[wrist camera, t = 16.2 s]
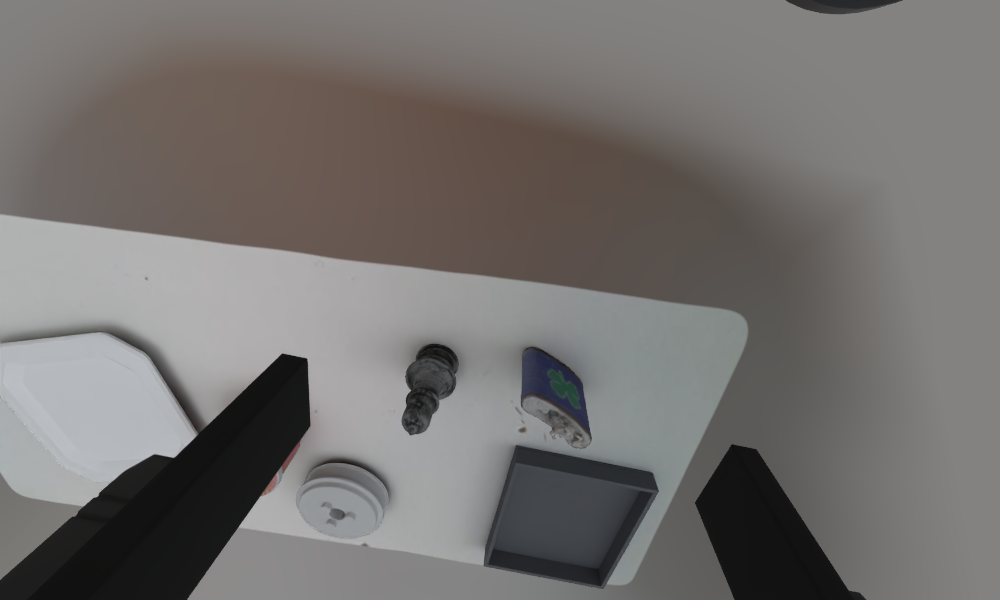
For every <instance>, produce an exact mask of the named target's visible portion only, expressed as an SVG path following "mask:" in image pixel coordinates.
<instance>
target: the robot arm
mask: <svg viewBox="0 0 1000 600" xmlns="http://www.w3.org/2000/svg"><path fill="white" fill-rule="evenodd" d="M309 427H310V405H309V384H308V362H307V358H302V357H297V356H292V355H287V354H281V355H280V356H279V357H278V358H277V359H276V360H275V361H274V362H273V363H272V364H271V365H270V366H269V367H268V368H267V369H266V370H265V371H264V372H263V373H262V374H261V375H260V376H259V377H257V378H256V379H255V380H254V381H253V382H252V383H251V384H250V385H249V386H248V387H247V388H246V389H245V390H244V391H243V392H242V393H241V394H240V395H239V396H238V397H237V398H236V399H235V400H234V401H233V402H232V403H230V404H229V405H228V406H227V407H226V408H225V409H224V410H223V411H222V412H221V413H220V414H219V415H218V416H217V417H216V418H215V419H214V420H213V421H212V422H211V423H210V424H209V425H208V426H207V427H206V428H205V429H204V430H202V431H201V432H200V433H199V434H198V435H197V436H196V437H195V438H194V439H193V440H192V441H191V442H190V443H189V444H188V445H187V446H186V447H185V448H184V449H183V450H182V451H181V452H180V453H179V454H178V455H177V456H176V457H174V458H172V457H167V456H162V455H157V454H154V455H152V456H150V457H148V458H146V459H145V460H143V461H141V462H139V463H138V464H136V465H134V466H132V467H130V468H129V469H127V470H125V471H124V472H123V473H121V474H120V475H119V476H118V477H117V478H116V479H115V480H113V481H112V482H111V483H110V484H109V485H108V486H107V487H106V488H104V489H103V490H102V491H101V492H100V493H99V496H98V497H96V498H95V497H94V498H93V499H92V500H91V501H90V502H88V503H87V504H86V505H85V506H84V507H83V508H82V509H81V510H79V512H78V514H77V515H76V516H75V517H72V518H70V519H69V520H68V521H67V522H66V523H65V524H63V525H62V526H61V527H60V528H59V529H58V530H57V531H55V532H54V533H53V534H52V535H51V536H50V537H49V538H48V539H46V540H45V541H44V542H43V543H42V544H41V545H40V546H38V547H37V548H36V549H35V550H34V551H33V552H32V553H30V554H29V555H28V556H27V557H26V558H25V559H24V560H23V561H21V562H20V563H19V564H18V565H17V566H16V567H15V568H13V569H12V570H11V571H10V572H9V573H8V574H7V575H5V576H4V577H3V578H2V579H1V580H0V600H187V599H188V597H189V596H190V594H191V593H192V592H193V590H194V589H195V587H196V586H197V585H198V583H199V582H200V580H201V579H202V578H203V576H204V575H205V573H206V572H207V570H208V569H209V567H210V566H211V565H212V563H213V562H214V560H215V559H216V558H217V556H218V555H219V554H220V552H221V551H222V549H223V548H224V547H225V545H226V544H227V542H228V541H229V540H230V538H231V537H232V535H233V534H234V533H235V531H236V530H237V528H238V527H239V525H240V524H241V523H242V521H243V520H244V518H245V517H246V516H247V514H248V513H249V511H250V510H251V509H252V507H253V506H254V504H255V503H256V502H257V500H258V499H259V497H260V496H261V495H262V493H263V492H264V490H265V489H266V487H267V486H268V485H269V483H270V482H271V480H272V479H273V478H274V476H275V475H276V473H277V472H278V471H279V469H280V468H281V466H282V465H283V464H284V462H285V461H286V459H287V458H288V457H289V455H290V454H291V452H292V451H293V450H294V448H295V447H296V445H297V444H298V442H299V441H300V440H301V438H302V437H303V435H304V434H305V433H306V431H307V430H308V428H309ZM695 504H696V506H697V509H698V511H699V514H700V516H701V519H702V521H703V524H704V526H705V528H706V530H707V533H708V536H709V538H710V541H711V543H712V545H713V548H714V550H715V553H716V555H717V558H718V560H719V563H720V565H721V567H722V570H723V573H724V575H725V577H726V580H727V582H728V585H729V587H730V589H731V592H732V594H733V597H734V599H735V600H866V599H865V598H864V597H863V596H862V595H861V594H860V593H858V592H852V591H849V590H848V589H847V587H846V586H845V584H844V583H843V581H842V580H841V578H840V577H839V575H838V573H837V572H836V570H835V569H834V567H833V566H832V564H831V563H830V561H829V560H828V558H827V557H826V555H825V554H824V552H823V551H822V549H821V547H820V546H819V544H818V543H817V542H816V540H815V538H814V537H813V536H812V534H811V532H810V531H809V529H808V528H807V526H806V525H805V523H804V521H803V520H802V518H801V517H800V515H799V514H798V512H797V511H796V509H795V508H794V506H793V505H792V503H791V502H790V500H789V498H788V497H787V495H786V494H785V493H784V491H783V489H782V488H781V487H780V485H779V483H778V482H777V480H776V479H775V477H774V476H773V474H772V472H771V471H770V469H769V468H768V466H767V465H766V463H765V462H764V460H763V459H762V457H761V456H760V454H759V453H758V451H757V450H756V449H752V448H747V447H742V446H737V445H731V447H730V448H729V450H728V451H727V453H726V455H725V456H724V458H723V459H722V461H721V462H720V464H719V466H718V467H717V469H716V470H715V472H714V473H713V475H712V477H711V478H710V480H709V481H708V483H707V485H706V486H705V488H704V489H703V491H702V492H701V494H700V496H699V497H698V499H697V500H696V502H695Z"/></svg>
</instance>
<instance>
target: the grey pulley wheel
mask: <svg viewBox="0 0 1000 600" xmlns="http://www.w3.org/2000/svg"><path fill="white" fill-rule="evenodd" d="M388 503H389V496H388V492H387V490H386V488H385V486H384V485H383V483H382V482H381V481H380V480H379V479H378V478H377V477H376V476H374V475H373V474H371V473H370V472H368V471H366V470H364V469H362V468H360V467H357V466H354V465H350V464H345V463H328V464H324V465H321V466H318V467H316V468H314V469H313V470H312V471H311V472H310V473H309V474H308V475H307V477H306V480H305V483H304V484H303V485H302V486H301V487H300V489H299V490H298V492H297V495H296V505H297V508H298V510H299V512H300V514H301V516H302V517H303V519H304V520H305V521H306V522H307V523H308V524H309V525H310V526H311V527H313V528H314V529H315V530H317V531H319V532H321V533H323V534H325V535H328V536H332V537H335V538H342V539H353V538H358V537H362V536H365V535H368V534H370V533H372V532H374V531H375V530H377V529H378V528H379V526H380V525H381V523H382V520H383V517H384V512H385V511H386V509H387V507H388Z"/></svg>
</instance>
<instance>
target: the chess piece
mask: <svg viewBox="0 0 1000 600" xmlns="http://www.w3.org/2000/svg"><path fill="white" fill-rule="evenodd" d="M457 369H458V359H457V356H456V355H455V354H454V352H453V351H452V350H450V349H449V348H447V347H445V346H443V345H439V344H431V345H427V346H425V347H423V348H422V349H421V350H420V351H419V352H418V354H417V356H416V361H415V362H413V363H412V364H411V365H410V366H409V367H408V369H407V371H406V376H405V378H406V383H407V385H408V387H409V389H410V390H411V392H410V393H408V395H407V397H406V404H407V406H406V409H405V411H404V414H403V416H402V425H403V427H404V429H405V430H406V431H407V432H408V433H409V434H410V435H414V434H420V433H422V432H424V431H425V430H426V429H427V428H428V426H429V424H430V421H431V418H432V415H433V414H434V413H435V412H436V411H437V409H438V408H439V400H441V399H444V398H446V397H448V396H449V395H450V394H451V393H452V392H453V391H454V389H455V386H456V377H455V375H454V374H455V373H456V371H457Z"/></svg>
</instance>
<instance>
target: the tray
mask: <svg viewBox="0 0 1000 600" xmlns="http://www.w3.org/2000/svg"><path fill="white" fill-rule="evenodd" d="M658 492H659V490H658V487H657V485H656V482H655V479H654V476H653V473H650V472H645V471H640V470H635V469H630V468H625V467H620V466H616V465H611V464H606V463H601V462H596V461H591V460H586V459H581V458H576V457H571V456H566V455H561V454H556V453H551V452H546V451H541V450H536V449H531V448H526V447H521V446H516V448H515V452H514V455H513V458H512V461H511V465H510V468H509V471H508V475H507V478H506V481H505V485H504V488H503V491H502V495H501V498H500V501H499V504H498V508H497V511H496V514H495V518H494V521H493V524H492V528H491V531H490V534H489V538H488V541H487V544H486V548H485V558H484V566H486V567H491V568H496V569H502V570H507V571H512V572H517V573H522V574H528V575H533V576H538V577H543V578H548V579H554V580H559V581H564V582H569V583H575V584H580V585H585V586H590V587H596V588H601V589H603V588H604V587H605V585H606V584H607V582H608V580H609V578H610V576H611V575H612V573H613V571H614V569H615V568H616V566H617V564H618V562H619V561H620V559H621V557H622V555H623V554H624V552H625V550H626V548H627V547H628V545H629V543H630V541H631V539H632V538H633V536H634V534H635V532H636V531H637V529H638V527H639V525H640V524H641V522H642V520H643V518H644V517H645V515H646V513H647V511H648V509H649V508H650V506H651V504H652V502H653V501H654V499H655V497H656V495H657V493H658Z"/></svg>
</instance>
